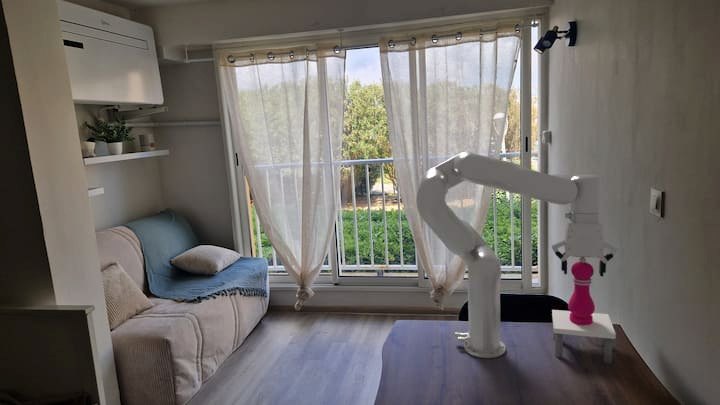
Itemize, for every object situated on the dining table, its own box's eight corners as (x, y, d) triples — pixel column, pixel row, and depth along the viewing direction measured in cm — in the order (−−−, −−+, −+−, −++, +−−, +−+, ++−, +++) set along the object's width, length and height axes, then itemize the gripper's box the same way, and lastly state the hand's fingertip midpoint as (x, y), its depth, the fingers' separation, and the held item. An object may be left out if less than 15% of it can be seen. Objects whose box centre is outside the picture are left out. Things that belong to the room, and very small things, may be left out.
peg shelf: (553, 358, 136) (554, 328, 135) (551, 337, 149) (552, 309, 148) (614, 365, 131) (615, 334, 129) (607, 342, 144) (608, 314, 142)
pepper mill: (597, 326, 134) (599, 260, 131) (571, 325, 136) (572, 260, 132) (590, 316, 141) (592, 253, 138) (565, 315, 143) (566, 253, 139)
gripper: (552, 219, 133) (551, 276, 135) (620, 220, 127) (618, 280, 129) (551, 214, 140) (550, 268, 142) (616, 215, 134) (613, 271, 136)
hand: (583, 274), depth 136 cm, fingers open, 9 cm apart
